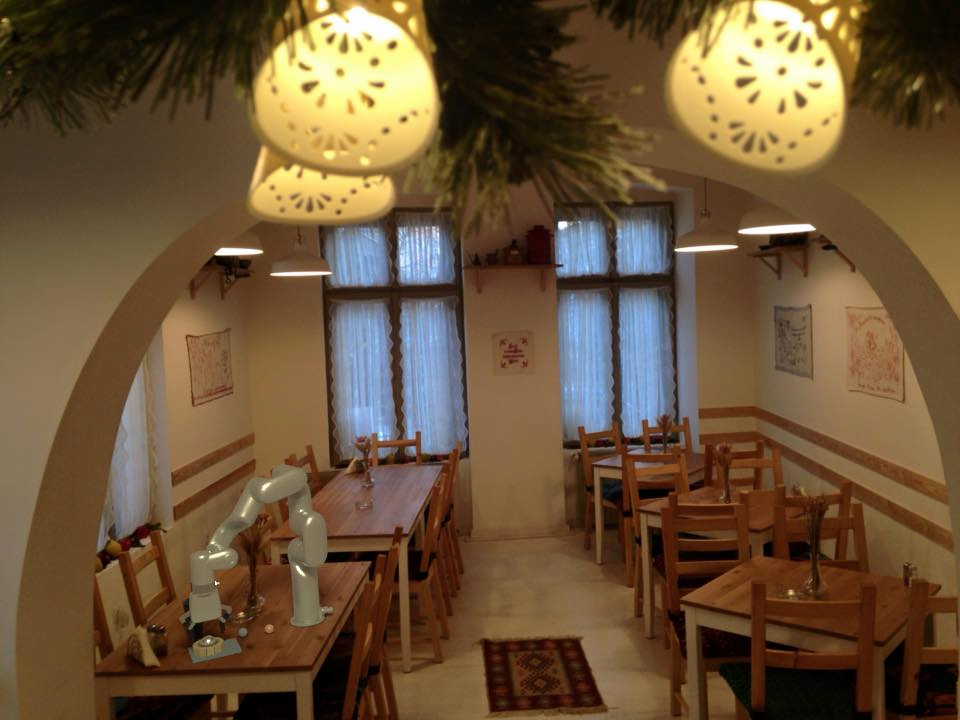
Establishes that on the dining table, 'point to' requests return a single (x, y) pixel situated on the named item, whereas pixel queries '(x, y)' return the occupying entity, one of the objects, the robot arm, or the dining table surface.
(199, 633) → the drinking cup
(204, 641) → the steel ball
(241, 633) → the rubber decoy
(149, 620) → the dining table surface
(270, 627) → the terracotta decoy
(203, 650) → the bearing housing
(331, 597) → the dining table surface
